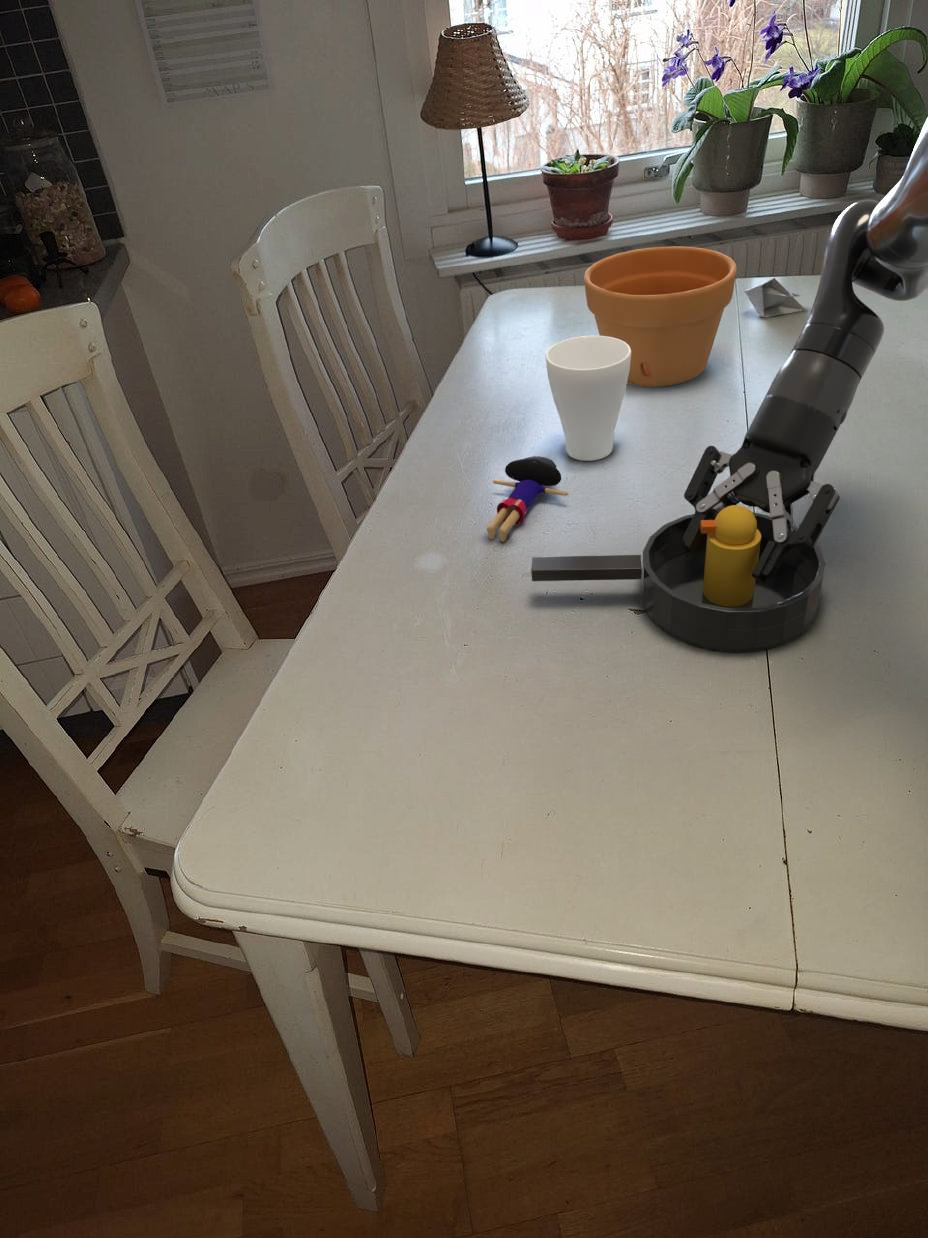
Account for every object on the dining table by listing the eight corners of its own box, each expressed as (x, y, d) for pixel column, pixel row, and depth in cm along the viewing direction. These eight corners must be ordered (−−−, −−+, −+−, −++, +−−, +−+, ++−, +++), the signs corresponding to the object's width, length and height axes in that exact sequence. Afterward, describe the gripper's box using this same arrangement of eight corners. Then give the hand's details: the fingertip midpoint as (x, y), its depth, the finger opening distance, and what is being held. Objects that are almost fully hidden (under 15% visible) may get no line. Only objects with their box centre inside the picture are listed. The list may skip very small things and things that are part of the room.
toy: (536, 553, 101) (584, 483, 110) (534, 520, 98) (583, 451, 107) (458, 537, 105) (511, 471, 115) (453, 505, 102) (508, 440, 112)
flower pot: (571, 394, 131) (568, 293, 121) (601, 338, 146) (600, 245, 136) (719, 401, 124) (728, 295, 115) (734, 342, 139) (743, 244, 130)
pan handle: (640, 565, 91) (640, 554, 90) (641, 579, 89) (641, 568, 88) (533, 567, 92) (532, 556, 91) (531, 581, 91) (531, 570, 90)
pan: (800, 547, 96) (806, 507, 93) (833, 652, 83) (842, 610, 80) (638, 550, 98) (639, 512, 95) (646, 653, 85) (647, 612, 82)
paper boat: (779, 290, 151) (827, 286, 143) (769, 328, 152) (816, 326, 144) (735, 267, 144) (783, 261, 136) (725, 307, 145) (772, 304, 137)
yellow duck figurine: (750, 576, 92) (760, 493, 86) (757, 606, 88) (768, 522, 82) (693, 577, 93) (699, 495, 86) (698, 607, 89) (704, 523, 83)
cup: (536, 443, 120) (531, 347, 112) (606, 424, 122) (606, 328, 114) (571, 477, 112) (567, 377, 104) (644, 456, 114) (647, 356, 106)
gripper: (724, 377, 87) (647, 529, 88) (865, 415, 78) (777, 583, 79) (749, 406, 92) (676, 549, 94) (882, 445, 84) (800, 601, 85)
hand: (723, 564), depth 87 cm, fingers open, 7 cm apart
